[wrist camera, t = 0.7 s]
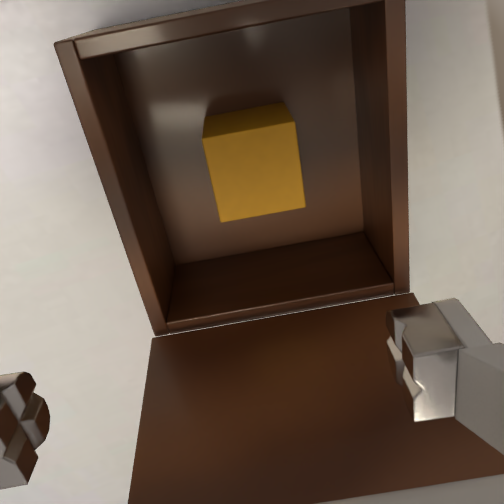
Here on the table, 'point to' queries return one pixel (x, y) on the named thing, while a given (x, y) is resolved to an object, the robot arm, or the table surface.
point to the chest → (239, 98)
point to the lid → (291, 415)
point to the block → (253, 162)
